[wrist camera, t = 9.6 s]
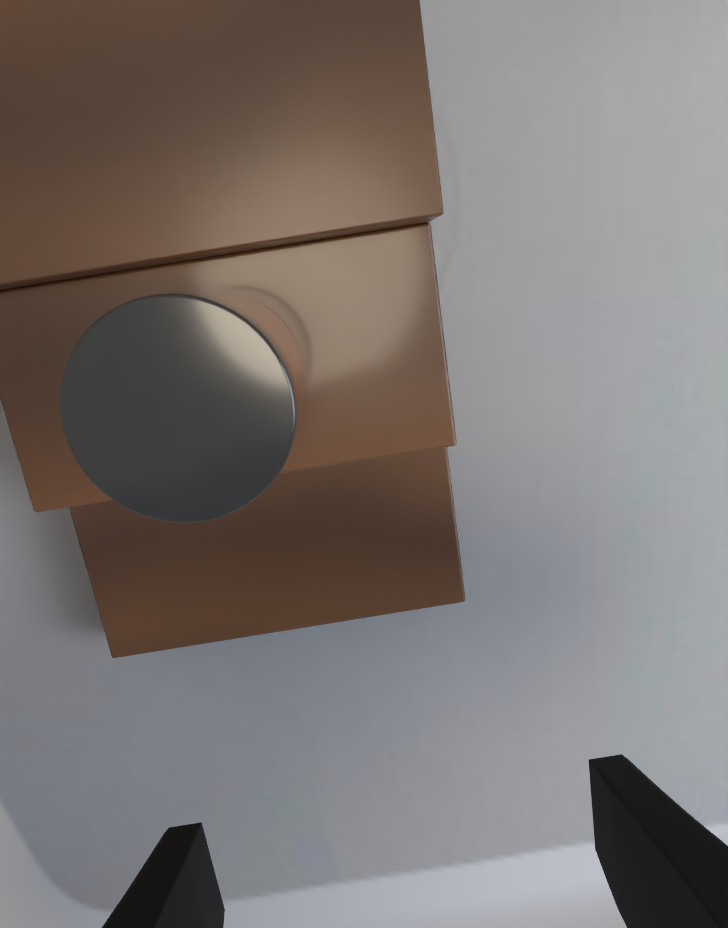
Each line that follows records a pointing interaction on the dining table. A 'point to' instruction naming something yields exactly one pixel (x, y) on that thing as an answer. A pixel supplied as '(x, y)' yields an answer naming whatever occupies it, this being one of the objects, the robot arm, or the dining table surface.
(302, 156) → the spice shelf
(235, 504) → the spice jar
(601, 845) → the robot arm
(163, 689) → the dining table surface
